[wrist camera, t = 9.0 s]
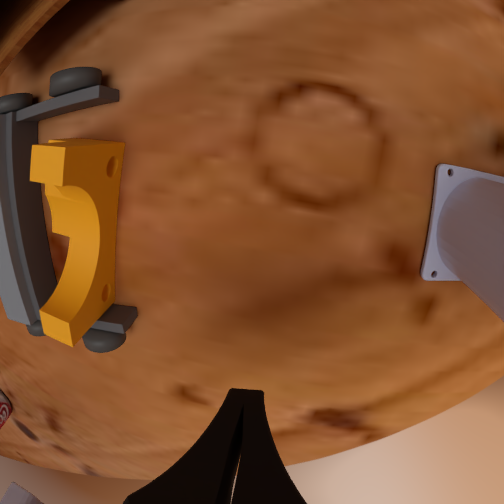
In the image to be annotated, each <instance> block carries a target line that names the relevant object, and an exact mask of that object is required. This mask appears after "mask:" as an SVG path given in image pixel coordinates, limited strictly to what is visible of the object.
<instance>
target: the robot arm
mask: <svg viewBox="0 0 504 504" xmlns="http://www.w3.org/2000/svg"><path fill="white" fill-rule="evenodd" d="M449 169H450V170H451V174H450V175H449V176H448V173H447V172H448V170H449ZM433 271H435V273H434V274H433V275H431V274H432V272H433ZM421 277H422V278H423V279H424V280H427V281H462V282H463V283H464V284H466V285H467V286H468V287H469V288H470V289H471V290H472V291H473V292H474V293H475V294H476V295H477V296H478V297H479V298H480V299H481V300H482V301H483V302H484V303H485V304H486V305H487V306H488V307H489V308H490V309H491V310H492V311H493V312H494V313H495V314H496V315H497V316H498V317H499V318H500V319H501V320H502V321H503V322H504V177H501V176H497V175H493V174H489V173H485V172H481V171H477V170H472V169H468V168H463V167H458V166H453V165H448V164H439V165H438V166H437V168H436V175H435V186H434V195H433V204H432V211H431V218H430V225H429V231H428V237H427V243H426V248H425V254H424V259H423V263H422V268H421ZM240 455H241V456H240ZM239 459H240V462H239ZM238 463H239V467H238ZM237 467H238V473H237V478H236V483H235V488H234V493H233V497H232V502H231V495H232V489H233V483H234V479H235V475H236V471H237ZM230 503H231V504H307V503H306V502H305V500H304V499H303V497H302V496H301V494H300V493H299V491H298V490H297V488H296V486H295V485H294V483H293V481H292V480H291V479H290V476H289V475H288V473H287V471H286V469H285V467H284V465H283V463H282V460H281V458H280V456H279V454H278V451H277V449H276V446H275V443H274V441H273V438H272V435H271V431H270V428H269V425H268V421H267V417H266V412H265V405H264V392H263V391H262V390H248V389H236V388H231V389H230V390H229V392H228V394H227V396H226V398H225V400H224V402H223V404H222V406H221V408H220V409H219V411H218V413H217V414H216V416H215V417H214V419H213V420H212V422H211V423H210V425H209V426H208V427H207V429H206V430H205V431H204V433H203V434H202V435H201V436H200V438H199V439H198V440H197V441H196V443H195V444H194V445H193V446H192V447H191V448H190V449H189V450H188V451H187V452H186V453H185V454H184V455H183V456H182V457H181V458H180V459H179V460H178V461H177V462H176V463H175V464H174V465H173V466H172V467H170V468H169V469H168V470H167V471H165V472H164V473H163V474H161V475H160V476H159V477H157V478H156V479H155V480H153V481H152V482H150V483H149V484H147V485H146V486H144V487H143V488H141V489H139V490H137V491H136V492H134V493H132V494H130V495H129V496H128V497H127V498H126V499H125V501H124V502H123V504H230ZM0 504H44V503H42V502H40V500H39V499H38V498H36V497H35V496H34V495H33V494H31V493H30V492H28V491H27V490H25V489H24V488H22V487H20V486H19V485H18V484H16V483H15V482H12V483H11V484H10V486H9V488H8V490H7V491H6V493H5V495H4V496H3V498H2V500H1V502H0Z"/></svg>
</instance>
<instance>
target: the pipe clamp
mask: <svg viewBox="0 0 504 504" xmlns="http://www.w3.org/2000/svg"><path fill="white" fill-rule="evenodd" d="M124 148H125V143H123V142H114V141H105V140H94V139H83V138H68V139H54V140H49V142H48V143H44V144H35V145H32V152H31V166H30V181H33V182H39V183H45V195H46V197H47V199H48V202H49V205H50V209H51V215H52V232H54V233H58V234H61V235H65V236H68V237H70V242H69V249H68V255H67V260H66V264H65V267H64V270H63V273H62V276H61V278H60V281H59V283H58V285H57V287H56V289H55V291H54V292H53V294H52V296H51V297H50V299H49V300H48V301H47V302H46V304H45V305H44V306H43V307H42V308H41V309H40V310H39V312H40V317H41V322H42V327H43V332H44V334H46V335H48V336H50V337H52V338H54V339H56V340H58V341H60V342H62V343H65V344H67V345H69V346H71V347H73V346H74V345H75V344H76V343H77V342H78V341H79V340H80V339H81V337H82V336H83V335H84V334H85V333H86V332H87V331H88V330H89V329H90V327H91V326H92V325H93V324H94V323H95V322H96V321H97V320H98V319H99V318H100V317H101V315H102V314H103V313H104V312H105V311H106V310H107V309H108V308H109V307H110V306H111V305H112V304H113V303H114V302H115V248H116V227H117V212H118V200H119V189H120V180H121V171H122V163H123V155H124Z"/></svg>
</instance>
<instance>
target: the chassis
mask: <svg viewBox="0 0 504 504" xmlns="http://www.w3.org/2000/svg"><path fill="white" fill-rule="evenodd" d="M101 75H102V71H101V70H100V69H98V68H93V67H75V68H69V69H65V70H61V71H58V72H56V73H54V74H53V75H52V76H51V77H50V90H49V95H50V96H52V97H55V98H52V99H49V100H46V101H43V102H40V103H38V104H35V105H32V97H33V95H32V94H30V93H16V94H10V95H5V96H2V97H0V296H1V299H2V302H3V305H4V308H5V311H6V314H7V317H8V319H11V320H14V321H17V322H20V323H24V324H26V326H27V329H28V331H29V333H30V334H31V335H33V336H45V335H46V334H44V332H43V327H42V322H41V317H40V312H39V310H40V309H41V308H42V307H43V306H44V305H45V304H46V302H47V301H48V300H49V299H50V297H51V296H52V294H53V292H54V291H55V289H56V287H57V282H56V277H55V273H54V269H53V264H52V260H51V255H50V250H49V244H48V239H47V233H46V227H45V220H44V213H43V206H42V197H41V188H40V183H39V182H33V181H30V166H31V152H32V145H35V144H38V121H40V120H43V119H46V118H50V117H53V116H57V115H60V114H64V113H68V112H72V111H76V110H80V109H84V108H88V107H93V106H97V105H102V104H107V103H112V102H117V101H119V90H117V89H113V88H109V87H105V86H101ZM137 316H138V315H137V309H136V307H130V306H122V305H114V304H112V305H111V306H110V307H109V308H108V309H107V310H106V311H105V312H104V313H103V314H102V315H101V317H100V318H99V319H98V320H97V321H96V322H95V323H94V324H93V325H92V326H91V327H90V329H89V330H88V331H87V332H86V333H85V334H84V335H83V336H82V338H83V341H84V344H85V346H86V348H87V349H89V350H90V351H93V352H98V353H103V352H109V351H112V350H115V349H117V348H118V347H120V346H121V345H122V344H123V343H124V342H125V340H126V333H125V332H126V331H127V330H128V328H129V327H130V326H131V324H132V323H133V322H134V320H135V319H136V318H137Z"/></svg>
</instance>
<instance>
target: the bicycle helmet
mask: <svg viewBox="0 0 504 504" xmlns="http://www.w3.org/2000/svg"><path fill="white" fill-rule="evenodd" d="M69 1H70V0H0V75H1V74H2V73H3V71H4V70H5V69H6V67H7V66H8V65H9V64H10V62H11V61H12V60H13V59H14V57H15V56H16V55H17V54H18V53H19V51H20V50H21V49H22V48H23V47H24V46H25V44H26V43H27V42H28V41H29V40H30V39H31V38H32V37H33V36H34V35H35V33H36V32H37V31H38V30H39V29H40V28H41V27H42V26H43V25H44V24H45V23H46V22H47V21H48V20H49V19H50V18H51V17H52V16H53V15H54V14H55V13H56V12H57V11H59V10H60V9H61V8H62V7H63V6H64V5H65V4H66V3H67V2H69Z"/></svg>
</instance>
